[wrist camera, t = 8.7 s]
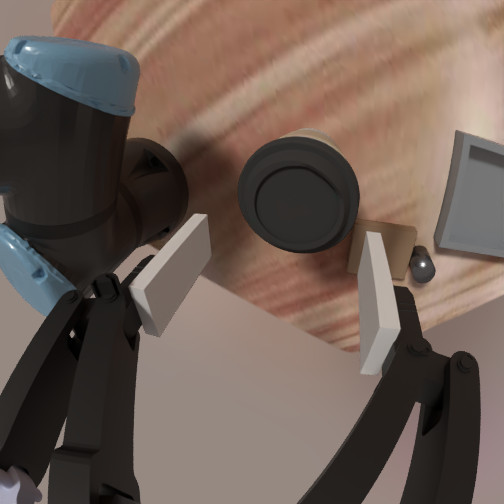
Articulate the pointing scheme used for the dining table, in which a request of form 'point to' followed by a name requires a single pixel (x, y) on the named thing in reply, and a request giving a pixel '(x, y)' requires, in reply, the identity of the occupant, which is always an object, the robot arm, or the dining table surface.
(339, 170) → the coffee cup
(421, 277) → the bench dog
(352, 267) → the board
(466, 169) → the tray
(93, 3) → the dining table surface
